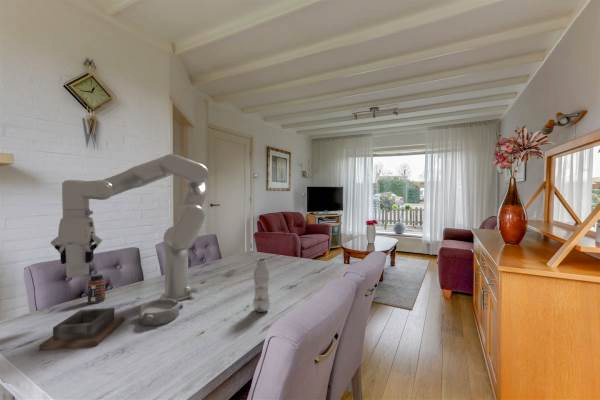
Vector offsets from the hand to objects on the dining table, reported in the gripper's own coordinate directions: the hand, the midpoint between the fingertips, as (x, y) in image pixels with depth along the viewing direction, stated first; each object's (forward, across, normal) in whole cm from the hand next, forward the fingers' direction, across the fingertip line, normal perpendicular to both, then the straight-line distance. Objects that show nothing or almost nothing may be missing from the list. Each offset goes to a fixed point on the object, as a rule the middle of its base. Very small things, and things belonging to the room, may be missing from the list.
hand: (77, 262), depth 98 cm
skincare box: (+5, 0, 0) cm, 5 cm away
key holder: (+21, -10, +13) cm, 26 cm away
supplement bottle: (+21, +3, -17) cm, 27 cm away
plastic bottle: (+22, -66, +4) cm, 70 cm away
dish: (+21, -29, +4) cm, 37 cm away
